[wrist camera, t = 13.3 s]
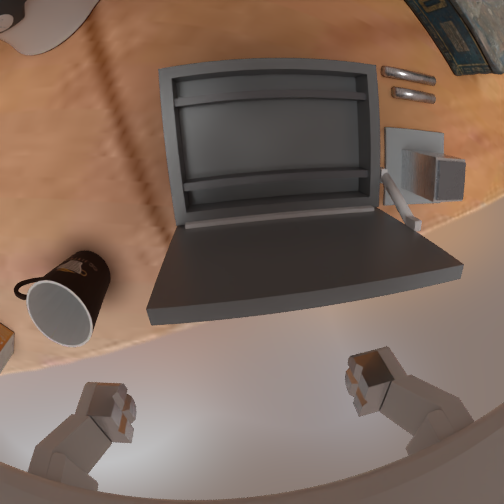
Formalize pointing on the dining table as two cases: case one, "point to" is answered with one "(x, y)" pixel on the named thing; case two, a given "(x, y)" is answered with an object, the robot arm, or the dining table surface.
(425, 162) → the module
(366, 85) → the case
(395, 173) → the pad
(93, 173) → the dining table surface
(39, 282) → the coffee mug
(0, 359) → the small box
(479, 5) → the metal box
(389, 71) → the rods
